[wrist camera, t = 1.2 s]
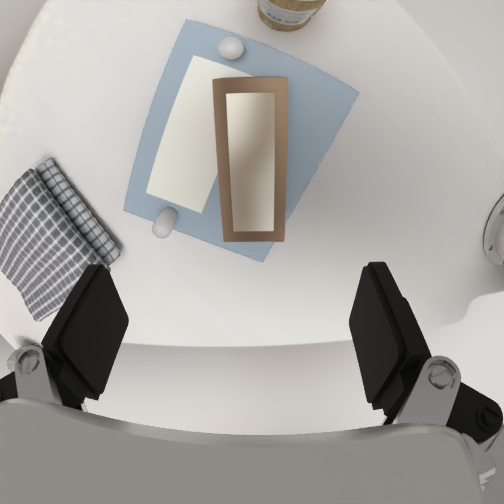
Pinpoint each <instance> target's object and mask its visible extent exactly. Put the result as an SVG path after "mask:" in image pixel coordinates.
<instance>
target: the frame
mask: <svg viewBox="0 0 504 504" xmlns="http://www.w3.org/2000/svg"><path fill="white" fill-rule="evenodd" d="M212 85H213V104H214V121H215V138H216V153H217V167H218V181H219V194H220V206H221V218H222V230H223V241H224V242H284V235H285V211H286V183H287V143H288V78H287V77H229V78H217V79H212Z"/></svg>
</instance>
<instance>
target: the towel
mask: <svg viewBox="0 0 504 504" xmlns="http://www.w3.org/2000/svg"><path fill="white" fill-rule="evenodd" d="M119 256H120V251H119V249H118V248H117V247H116V246H115V243H114V242H113V241H112V240H111V239H110V238H109V236H108V234H107V233H106V232H105V231H104V229H103V228H102V227H101V225H99V224H98V222H97V221H96V219H95V218H94V217H93V216H92V214H91V212H90V211H89V210H88V209H87V207H86V206H85V204H84V203H83V202H82V201H81V199H80V198H79V197H78V196H77V195H76V194H75V192H74V190H73V189H71V188H70V185H69V184H68V183H67V182H66V181H65V178H64V177H63V175H62V174H61V173H60V170H59V169H58V168H57V167H56V166H55V164H54V162H53V160H52V159H50V158H49V159H48V160H47V161H46V162H44V163H42V164H40V165H38V166H37V167H36V169H35V170H33V169H29V170H28V171H27V172H25V173H24V174H23V176H22V177H21V178H19V179H18V180H17V181H16V182H15V184H14V186H13V187H12V188H11V189H10V191H9V193H8V194H6V196H5V197H4V199H3V200H2V202H1V204H0V269H1V271H2V272H3V273H4V274H5V275H6V277H7V278H8V279H9V280H10V281H11V282H12V284H13V285H15V286H16V287H17V289H18V290H19V291H20V292H21V295H22V297H23V299H24V302H25V305H26V306H27V307H28V310H29V312H30V314H32V315H33V318H34V320H35V321H37V322H38V321H42V320H43V319H45V318H46V317H47V316H49V315H50V314H52V313H53V312H55V311H57V310H59V309H60V308H61V307H62V305H63V303H64V302H65V300H66V298H67V297H68V295H69V293H70V292H71V290H72V289H73V287H74V286H75V284H76V282H77V281H78V279H79V278H80V276H81V275H82V273H83V272H84V270H85V269H86V267H87V266H88V265H89V264H103V265H104V266H105V268H107V269H108V270H109V272H110V271H111V269H110V267H109V265H110V264H111V263H113V262H114V261H115V260H116V259H117V258H118V257H119Z"/></svg>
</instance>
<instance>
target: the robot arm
mask: <svg viewBox="0 0 504 504" xmlns="http://www.w3.org/2000/svg"><path fill="white" fill-rule="evenodd" d="M484 251H485V254H486V256H487V257H488V258H489V260H490V261H491V262H492V263H493V264H496V265H504V196H503V197H502V199H501V200H500V201H499V202H498V204H497V205H496V207H495V208H494V210H493V212H492V214H491V216H490V218H489V221H488V223H487V226H486V230H485V235H484ZM128 323H129V319H128V315H127V313H126V311H125V308H124V306H123V304H122V301H121V299H120V297H119V294H118V292H117V290H116V287H115V285H114V282H113V280H112V277H111V275H110V272H109V270H108V269H107V268H105V266H104V265H103V264H89V265H88V266H87V267H86V269H85V270H84V272H83V273H82V275H81V276H80V278H79V279H78V281H77V282H76V284H75V286H74V287H73V289H72V290H71V292H70V293H69V295H68V297H67V298H66V300H65V302H64V303H63V305H62V307H61V308H60V310H59V312H58V313H57V315H56V317H55V318H54V320H53V322H52V324H51V325H50V327H49V329H48V331H47V333H46V335H45V336H44V338H43V340H42V342H41V344H42V345H43V349H42V350H41V349H40V348H39V347H36V346H31V347H28V348H26V349H24V350H23V351H22V352H21V353H20V354H19V355H18V357H17V358H16V361H15V368H14V369H15V371H13V372H12V373H10V374H8V375H7V376H5V377H3V378H2V379H0V504H504V424H503V414H502V411H501V408H500V407H499V405H498V404H497V403H496V402H494V401H493V400H492V399H490V398H488V397H486V396H485V395H483V394H481V393H479V392H478V391H476V390H474V389H473V388H471V387H469V386H467V385H466V384H464V383H462V382H460V381H461V374H460V371H459V368H458V367H457V365H456V364H455V363H454V362H453V361H452V360H451V359H449V358H447V357H444V356H434V357H432V356H431V353H430V351H429V349H428V346H427V344H426V341H425V339H424V336H423V334H422V332H421V329H420V327H419V325H418V323H417V320H416V318H415V316H414V314H413V312H412V309H411V307H410V305H409V303H408V301H407V300H406V298H404V297H402V295H401V292H400V290H399V288H398V286H397V284H396V282H395V280H394V278H393V276H392V274H391V272H390V270H389V268H388V266H387V265H386V263H385V262H369V263H368V265H367V266H364V267H363V270H362V274H361V278H360V281H359V285H358V289H357V293H356V297H355V300H354V304H353V307H352V311H351V314H350V318H349V327H350V331H351V335H352V339H353V343H354V346H355V351H356V355H357V359H358V363H359V367H360V372H361V376H362V380H363V385H364V390H365V394H366V399H367V402H368V403H372V407H373V410H376V409H383V411H384V415H386V417H385V418H384V420H383V422H382V423H381V425H380V426H376V427H367V428H360V429H353V430H344V431H334V432H323V433H311V434H294V435H230V434H212V433H201V432H190V431H182V430H174V429H166V428H159V427H153V426H146V425H141V424H136V423H131V422H126V421H121V420H116V419H112V418H108V417H104V416H100V415H95V414H92V413H88V411H87V408H86V405H85V403H84V399H85V397H87V398H89V399H94V400H98V399H99V396H100V394H102V393H103V392H104V389H105V386H106V384H107V380H108V378H109V375H110V372H111V369H112V366H113V364H114V361H115V358H116V355H117V353H118V350H119V347H120V344H121V342H122V339H123V337H124V334H125V332H126V329H127V327H128Z"/></svg>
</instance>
